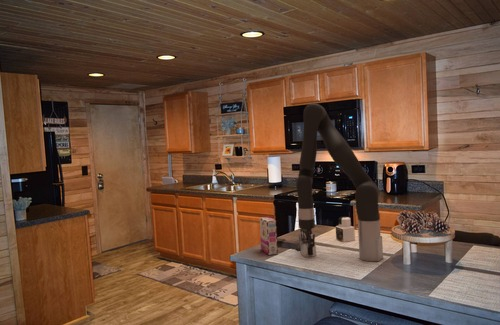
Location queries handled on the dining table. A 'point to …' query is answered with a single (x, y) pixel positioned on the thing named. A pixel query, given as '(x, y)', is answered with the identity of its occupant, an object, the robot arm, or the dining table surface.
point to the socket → (306, 249)
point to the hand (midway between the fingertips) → (308, 253)
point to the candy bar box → (268, 235)
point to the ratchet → (289, 243)
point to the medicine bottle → (345, 230)
